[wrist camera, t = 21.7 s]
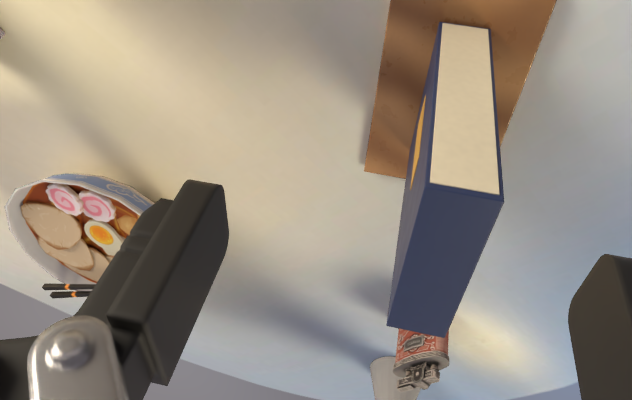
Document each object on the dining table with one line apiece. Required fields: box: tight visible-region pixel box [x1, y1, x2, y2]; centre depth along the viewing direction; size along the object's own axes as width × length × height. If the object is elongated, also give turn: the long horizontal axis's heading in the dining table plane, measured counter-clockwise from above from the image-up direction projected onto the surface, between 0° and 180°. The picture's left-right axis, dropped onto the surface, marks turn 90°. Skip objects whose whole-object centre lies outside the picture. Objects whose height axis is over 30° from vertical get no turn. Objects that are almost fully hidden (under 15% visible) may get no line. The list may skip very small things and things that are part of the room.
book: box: [387, 22, 504, 338], centre depth 37 cm, size 20×4×13 cm
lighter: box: [393, 328, 449, 392], centre depth 64 cm, size 8×3×10 cm, turn 138°
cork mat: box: [364, 0, 557, 179], centre depth 45 cm, size 20×12×1 cm, turn 177°
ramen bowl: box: [5, 174, 155, 298], centre depth 63 cm, size 25×23×8 cm
